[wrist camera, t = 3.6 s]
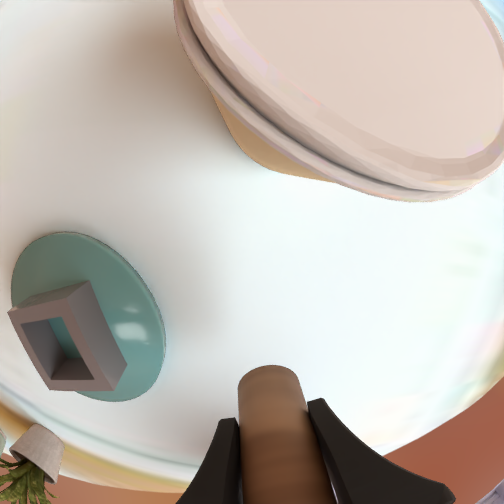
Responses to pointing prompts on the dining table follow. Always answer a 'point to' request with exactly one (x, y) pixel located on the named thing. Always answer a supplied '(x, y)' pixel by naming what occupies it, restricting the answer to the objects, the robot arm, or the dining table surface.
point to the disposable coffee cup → (2, 442)
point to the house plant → (32, 466)
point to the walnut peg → (279, 442)
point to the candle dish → (86, 318)
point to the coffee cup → (356, 89)
